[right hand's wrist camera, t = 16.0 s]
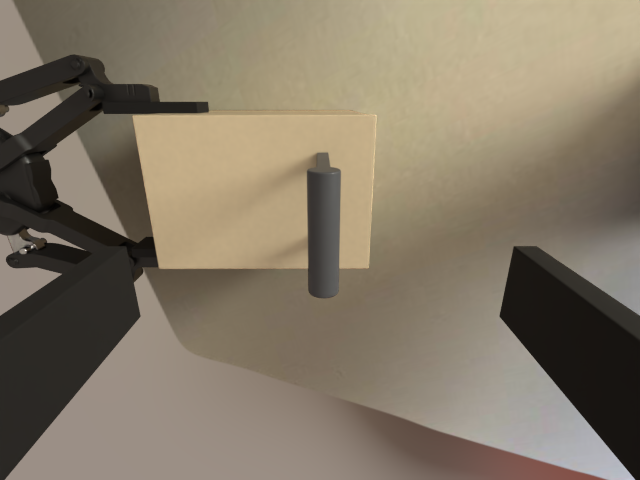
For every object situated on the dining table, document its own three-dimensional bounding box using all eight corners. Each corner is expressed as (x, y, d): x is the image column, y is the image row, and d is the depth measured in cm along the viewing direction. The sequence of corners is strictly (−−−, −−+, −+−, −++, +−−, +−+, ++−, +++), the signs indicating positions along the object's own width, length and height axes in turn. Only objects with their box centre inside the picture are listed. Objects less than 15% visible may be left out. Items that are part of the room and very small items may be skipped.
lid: (374, 114, 23) (404, 122, 15) (367, 264, 26) (387, 334, 18) (137, 115, 22) (40, 122, 15) (163, 264, 26) (96, 334, 18)
